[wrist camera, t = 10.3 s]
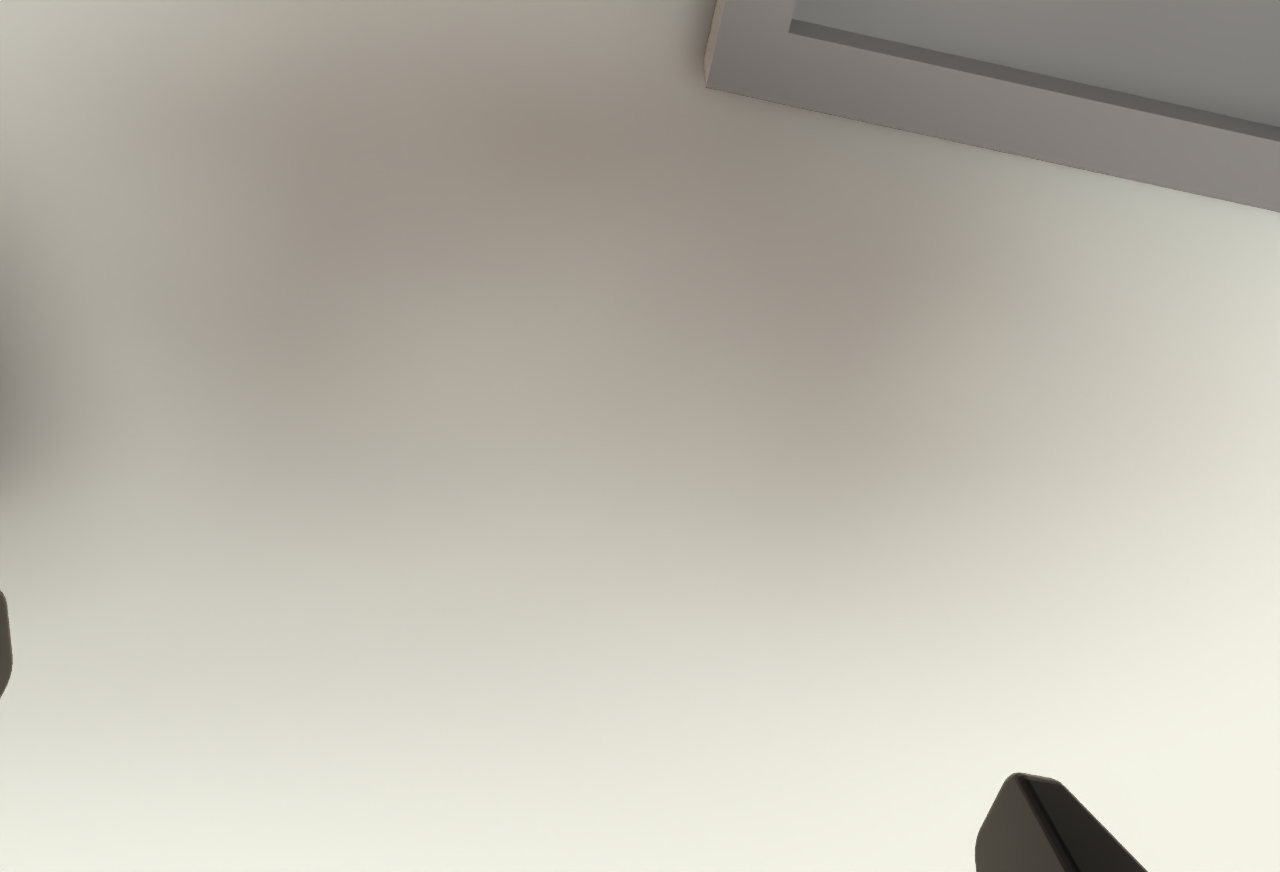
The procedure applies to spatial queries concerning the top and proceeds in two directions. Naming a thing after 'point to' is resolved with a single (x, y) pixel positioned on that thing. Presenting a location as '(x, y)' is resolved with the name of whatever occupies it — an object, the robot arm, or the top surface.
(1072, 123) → the parts tray
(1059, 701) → the top surface
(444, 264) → the top surface
